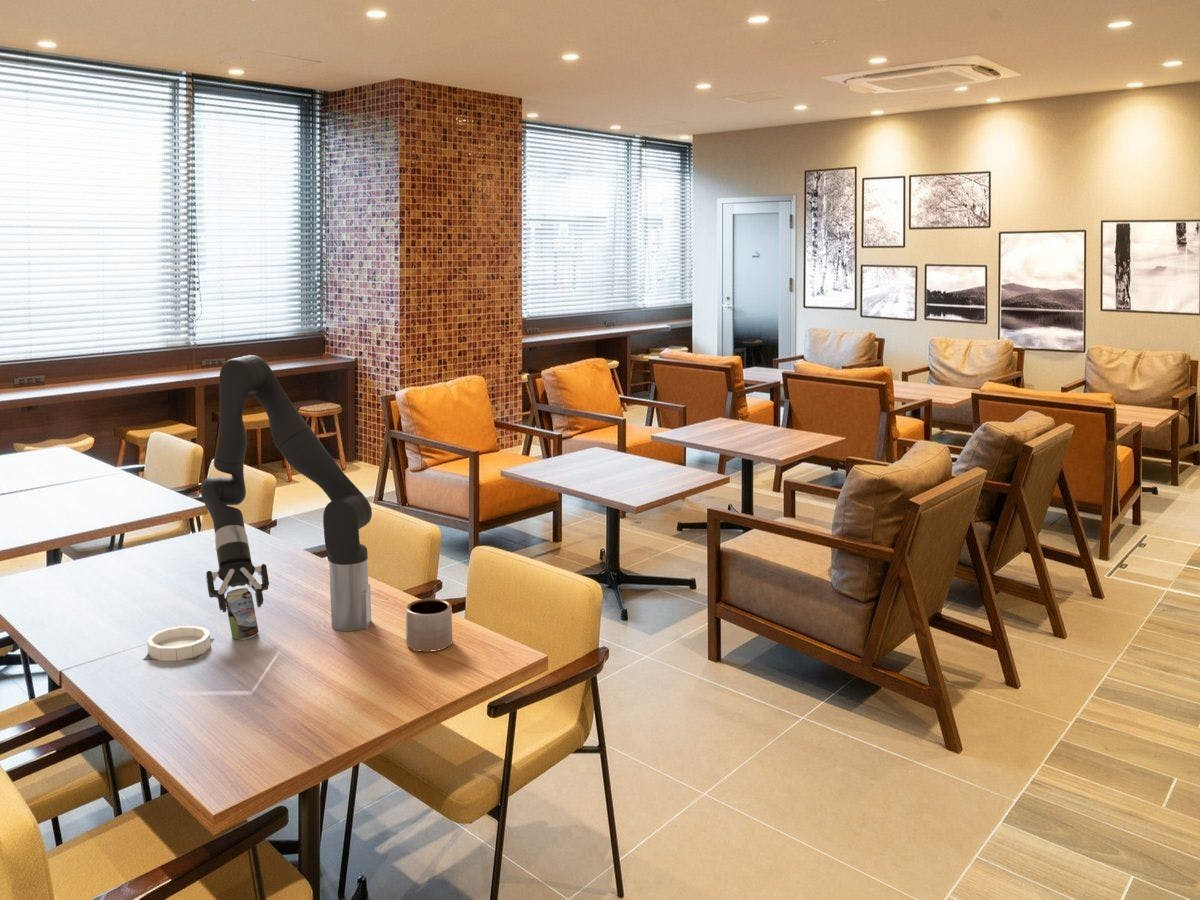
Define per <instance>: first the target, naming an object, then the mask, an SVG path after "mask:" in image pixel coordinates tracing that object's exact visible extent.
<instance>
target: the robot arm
mask: <svg viewBox="0 0 1200 900" xmlns="http://www.w3.org/2000/svg"><path fill="white" fill-rule="evenodd" d="M218 380H219V381H218V384H219V385H218V386H219V387H218V389H219V391H218V394H219V399H218V400H219V401H218V403H219V404H218V405H219V408H218V409H219V411H218V412H219V415H218V416H219V419H218V421H219V424H218V435H217V441H216V446H215V447H216V448H215V453H214V458H213V467H214V468H215V469H216V470H217V471H218V472H221V473H224V474H229V475H231V477H221V476H220V477H219V476H218V477H216V476H214V477H212V476H211V477H208V478H207V477H206V479H204V480H203V482H202V483H201V487H200V495H201V499H202V502H203V503H204V506H205V507H206V509H207V511H208V513H209V515H210V517H211V520H212V523H213V528H214V538H215V539H214V543H215V551H216V555H217V557H216V558H217V563H218V571H211V570H207V571H206V573H205V579H206V580H205V581H206V586H207V591H208V596H209V598H216V599H217V601H218V608H219V610H220V611H222V613H227V607H226V601H225V598H226V595H225V594H226V593H227V591H228V590H229V588H230V587H231V588H235V587H238V586H240V587H242V586H243V587H244V586H246V585H247V587H248V588H250V589H251V590H253V591H254V592H255V593H254V595H255V600H256V606H257V608H261V606H262V605H263V604H264V595H263V591H267V590H268V589H269V586H270V582H269V575H268V568H267V564H265V563H262V564H261V565H259V566H254V564H253V561H252V557H251V552H250V551H251V550H250V545H249V539H248V534H247V532H246V528H245V522H244V515H243V512H242V511H241V509H239V508H237V507H233V506H237V505H240V504H242V502H243V501H245V498H246V494H247V490H246V489H247V488H246V483H245V475H244V473H245V472H244V468H245V466H244V465H245V463H244V462H245V458H246V452H247V448H248V447H247V446H248V436H247V431H246V427H245V425H244V418H243V410H244V409H243V408H244V405H245V402H246V399H247V396H248V395H253V396H254V397H255V398H256V399H257V401H258V402H259V403H260V405H261V406H262V407H263V409H264V411H265V413H266V414H267V417H268V421H269V428H270V433H271V437H272V441H273V443H274V445H275V447H276V449H278V451H279V453H280V454H281V455H282V457H284V459H285V460H286V462H287V463H288V465H290V466H291V467H292V469H294V470H295V471H297V473H299V474H301V475H302V476H303V477H306V479H308V480H310V481H311V482H313V483H315V484H316V485H317V486H319V488H320V489H322V491H323V492H324V493H325V494H326V496H327V497H328V499H329V500H330V501H329V502H328V503H327V504H326V506H325V507H324V510H323V513H322V514H323V515H322V523H323V525H322V526H323V535H324V537H323V538H324V545H325V550H326V552H327V554H328V561H329V563H328V564H329V565H328V567H329V587H330V588H329V589H330V591H329V592H330V593H329V594H330V613H331V615H330V617H331V619H330V620H331V628H333V629H334V630H336V631H342V632H353V631H359V630H367V629H368V628H369V625H370V623H371V622H372V602H371V597H372V596H371V595H372V594H371V584H369V568H368V567H369V564H368V563H369V561H368V559H369V557H368V556H369V555H368V548H367V546H366V545H364V544H363V543H361V541H360V531H359V530H361V529H362V528H364V527H365V526H367V525H368V524H369V523H370V522H371V520H372V515H373V514H372V513H373V512H372V506H371V504H370V501H369V500H368V499H367V497H366V496H365V495H364V494H363V493H362V491H361V490H360V489H359V488H358V487H357V486H356V485H355V484H354V482H352V481H351V480H350V478H349V477H348V476H347V475H346V474H345V472H344V471H343V470H342V468H340V466H339V465H338V464H337V462H336V461H335V460H334V458H333V457H332V455H331V454H330V453H329V452H328V450H327V449H326V447H325V446H324V444H323V443H322V441H320V438H319V437H318V436H317V435H316V433H315V432H314V431H313V429H312V428H311V426H310V425H309V424H308V423H307V422H306V420H305V419H304V418H303V416H302V415H301V414H300V412H299V411H298V409H297V408H296V407H295V405H294V403H293V402H292V400H290V398H289V397H288V395H287V393H286V392H285V390H284V389H283V386H282V385H281V384H280V382H279V380H278V379H277V377H276V375H275V373H274V371H273V370H272V369H271V367H270V365H269V364H268V363H267V362H266V361H265V359H263V358H262V357H261V356H258V355H254V354H248V355H243V356H239V357H234V358H233V357H232V358H230V359H228V360H226V361H225V362H223V364H222V366H221V368H220V372H219V379H218ZM255 573H257V575H258V576H260V577H261V578H260V579H261V583H259V582H258V580H257V579H256V578H255V577H254V574H255ZM217 577H218V578H219V579H220V580H222V583H221V585H220V588H219V589H215V588H216V587H215V584H214V582H216V580H217Z"/></svg>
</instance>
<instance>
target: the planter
mask: <svg viewBox="0 0 1200 900" xmlns="http://www.w3.org/2000/svg"><path fill="white" fill-rule="evenodd" d="M452 610H453V609H452V604H451V603H450V602H449V601H447V600H445V599H439V598H423V599H418V600H413V601H412V602H410V603H408V604H407V605H406V607H405V619H406V620H405V623H406V624H405V625H406V626H405V627H406V629H405V630H406V631H405V636H406V639H405V643H406V646H407V647H408V648H409V647H410V649H411V648H412V649H411V650H413V649H415V650H421V651H431V650H438V649H442V648H444V647H447V646H448V645H449V644H451V645H452V643H453V611H452ZM451 642H452V643H451ZM449 646H450V645H449ZM449 646H448V647H449ZM448 647H447V648H448ZM415 650H414V651H415Z"/></svg>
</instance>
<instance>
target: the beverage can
mask: <svg viewBox="0 0 1200 900" xmlns="http://www.w3.org/2000/svg"><path fill="white" fill-rule="evenodd" d="M225 601H226V608H227V610H226V613H227V617H228V621H229V627H230V632H231V636H232V638H233V639H235V640H241V641H243V640H244V641H245V640H249V639H251V638H252V639H253V638H254V637H255V636H256V635H257V634H258V633H259V627H258V621H257V615H256V610H255V605H254V600H253V594H252V592H250V590H249V588H247V587H242V588H237V589H233V590H230V591H228V592H226V595H225Z"/></svg>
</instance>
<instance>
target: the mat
mask: <svg viewBox="0 0 1200 900" xmlns="http://www.w3.org/2000/svg"><path fill="white" fill-rule="evenodd" d="M210 640H211V644H212V643H213V641H214V640H215V638H210ZM202 655H203V653H202V654H200V655H198V656H195V657H193V658H188V659H183V660H182V661H197V660H199V658H200V657H201V656H202ZM142 661H158V660H157V659H154V658H151V657H150V655H149V653H148V654H147V655H146V656H145V657H144V658H143V659H142Z"/></svg>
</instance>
